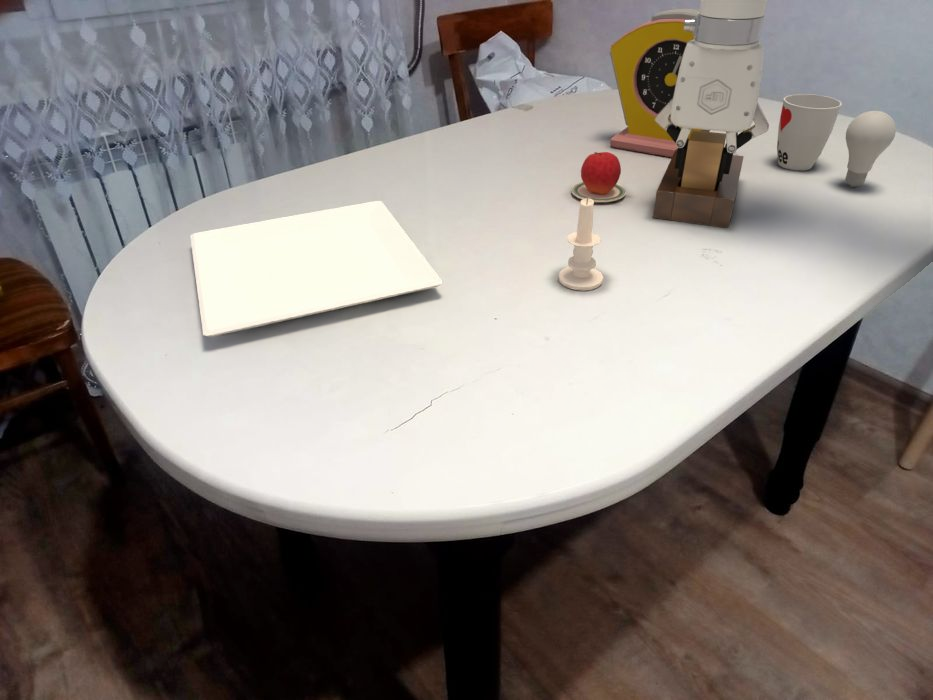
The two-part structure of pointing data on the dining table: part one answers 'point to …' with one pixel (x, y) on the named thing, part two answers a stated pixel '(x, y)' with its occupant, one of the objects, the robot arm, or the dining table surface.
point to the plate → (304, 266)
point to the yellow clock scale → (649, 79)
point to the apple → (600, 178)
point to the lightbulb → (867, 143)
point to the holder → (697, 198)
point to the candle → (582, 253)
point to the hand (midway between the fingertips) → (700, 174)
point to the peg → (703, 160)
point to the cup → (805, 129)
